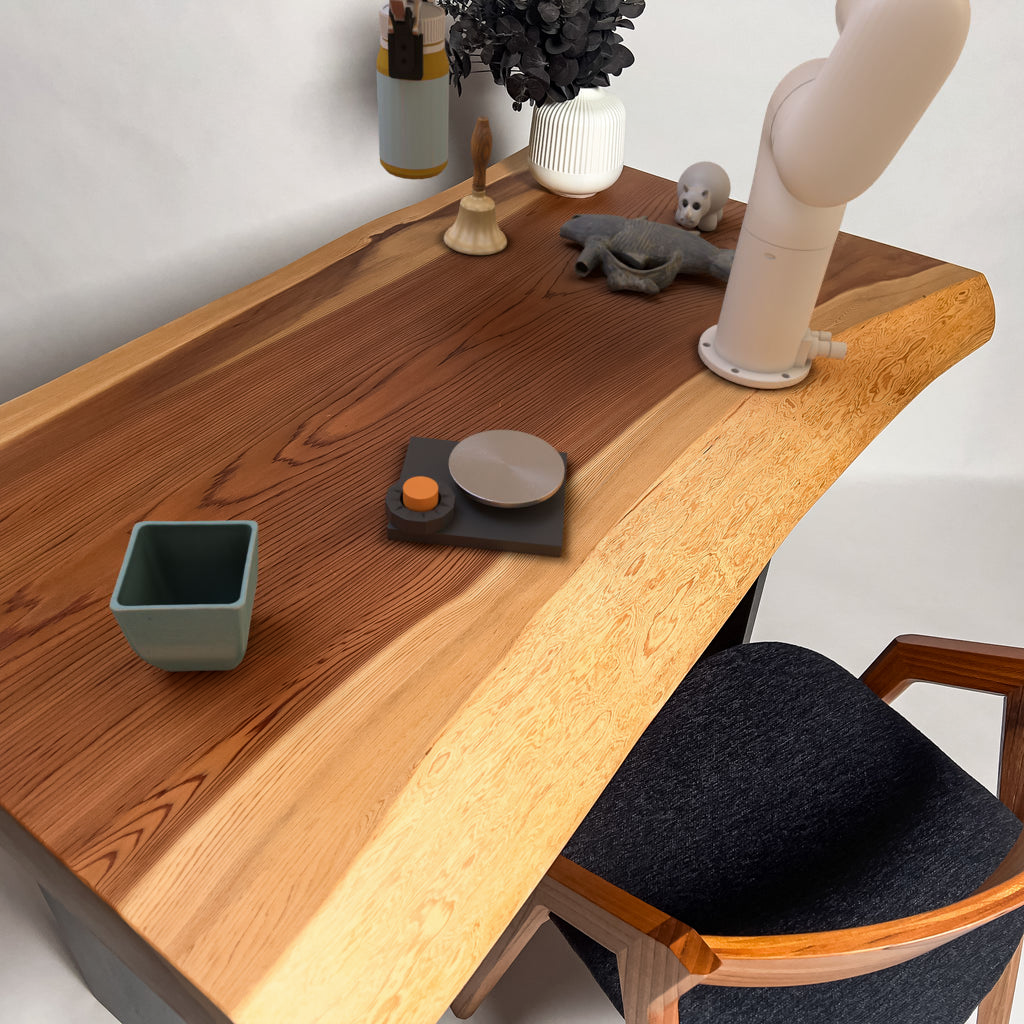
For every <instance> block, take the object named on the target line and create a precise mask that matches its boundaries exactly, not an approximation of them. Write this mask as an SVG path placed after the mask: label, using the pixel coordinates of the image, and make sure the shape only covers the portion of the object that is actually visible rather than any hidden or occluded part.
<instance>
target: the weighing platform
mask: <svg viewBox="0 0 1024 1024" xmlns="http://www.w3.org/2000/svg"><path fill="white" fill-rule="evenodd" d="M558 452H559V451H558V450H557V449H556V448H555V447H553V445H551V444H550V443H549V442H547V441H545V440H544V439H542V438H540V437H538V436H536V435H534V434H530V433H527V432H525V431H520V430H514V429H513V430H512V429H490V430H485V431H480V432H477V433H474V434H472V435H469V436H468V437H466V438H464V439H463V440H461V441H460V443H459V444H458V445H456V447H455V448H454V449H453V451H452V452H451V454H450V457H449V463H448V470H449V475H450V478H451V480H452V482H453V483H454V485H455V486H456V487H457V488H458V489H459V490H460V491H461V492H462V493H464V494H465V495H466V496H468V497H470V498H471V499H473V500H475V501H478V502H480V503H483V504H486V505H490V506H495V507H502V508H519V507H526V506H531V505H534V504H538V503H540V502H542V501H545V500H546V499H548V498H550V497H551V496H552V495H553V494H555V493H556V491H557V490H558V489H559V488H560V486H561V485H562V482H563V478H564V472H565V469H564V463H563V460H562V458H561V456H560V455H559V453H558Z"/></svg>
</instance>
